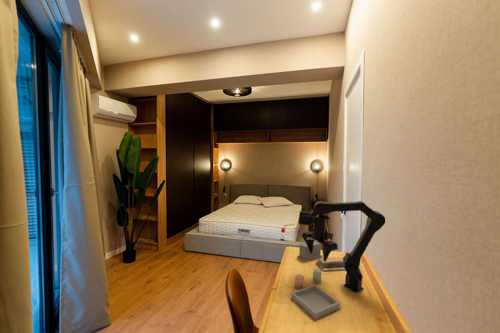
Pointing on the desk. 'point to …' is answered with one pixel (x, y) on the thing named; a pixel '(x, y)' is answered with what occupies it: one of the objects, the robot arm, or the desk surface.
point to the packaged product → (331, 264)
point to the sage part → (317, 275)
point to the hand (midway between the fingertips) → (317, 257)
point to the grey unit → (305, 253)
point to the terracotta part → (299, 281)
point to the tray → (315, 301)
